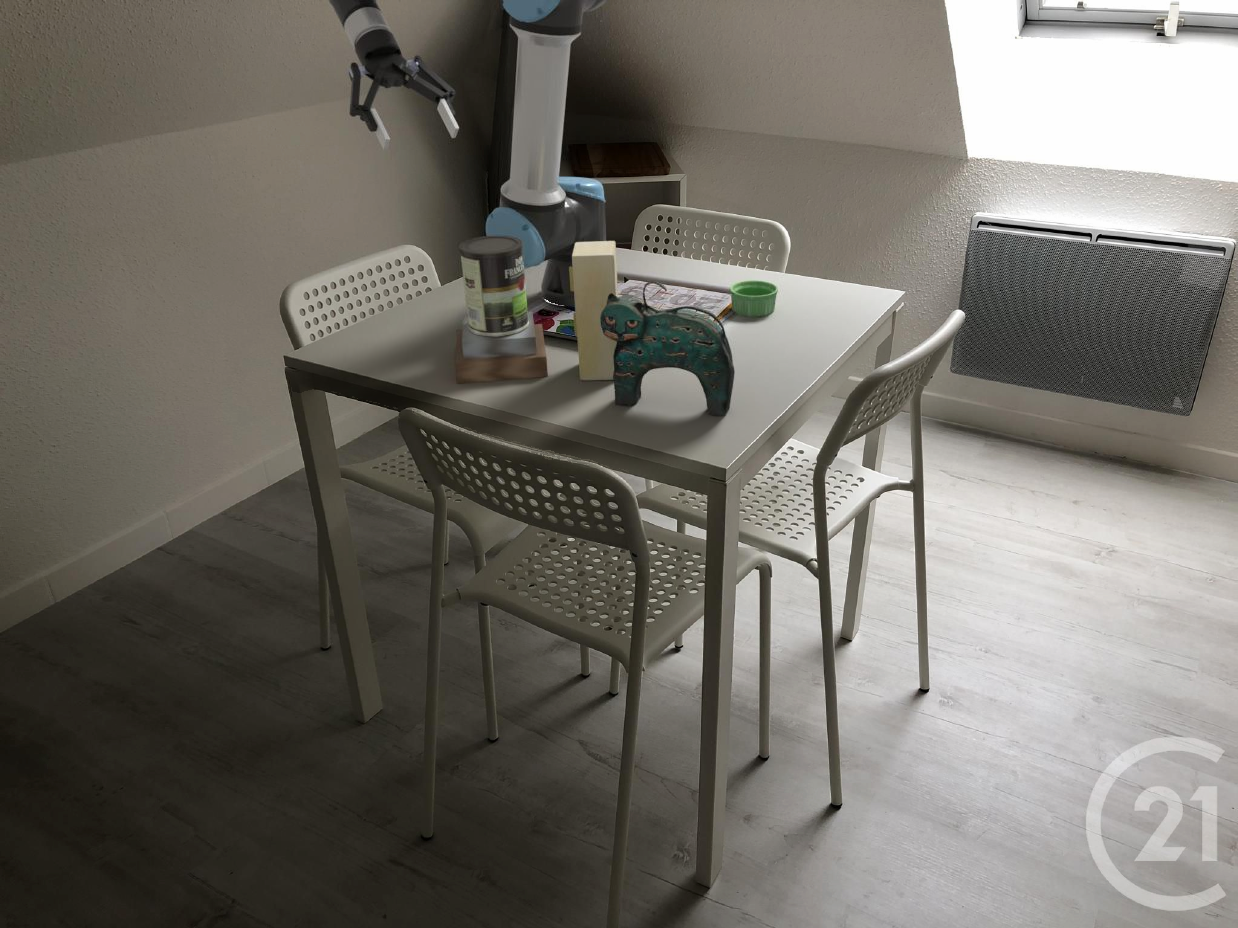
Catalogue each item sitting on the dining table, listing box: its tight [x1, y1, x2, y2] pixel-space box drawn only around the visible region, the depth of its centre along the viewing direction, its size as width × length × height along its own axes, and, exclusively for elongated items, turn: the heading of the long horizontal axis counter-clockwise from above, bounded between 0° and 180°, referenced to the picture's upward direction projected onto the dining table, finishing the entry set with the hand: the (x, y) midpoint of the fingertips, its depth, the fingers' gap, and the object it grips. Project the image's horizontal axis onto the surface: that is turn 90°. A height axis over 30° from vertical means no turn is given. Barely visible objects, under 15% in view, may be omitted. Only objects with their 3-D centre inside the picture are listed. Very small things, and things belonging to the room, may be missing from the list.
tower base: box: [454, 311, 549, 384], centre depth 165 cm, size 15×15×6 cm
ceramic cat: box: [600, 280, 735, 417], centre depth 145 cm, size 20×6×20 cm, turn 71°
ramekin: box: [729, 280, 779, 318], centre depth 184 cm, size 9×9×4 cm
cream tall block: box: [569, 240, 619, 381], centre depth 157 cm, size 8×7×21 cm
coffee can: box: [458, 235, 529, 337], centre depth 161 cm, size 10×10×14 cm
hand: (422, 139), depth 173 cm, fingers open, 13 cm apart
